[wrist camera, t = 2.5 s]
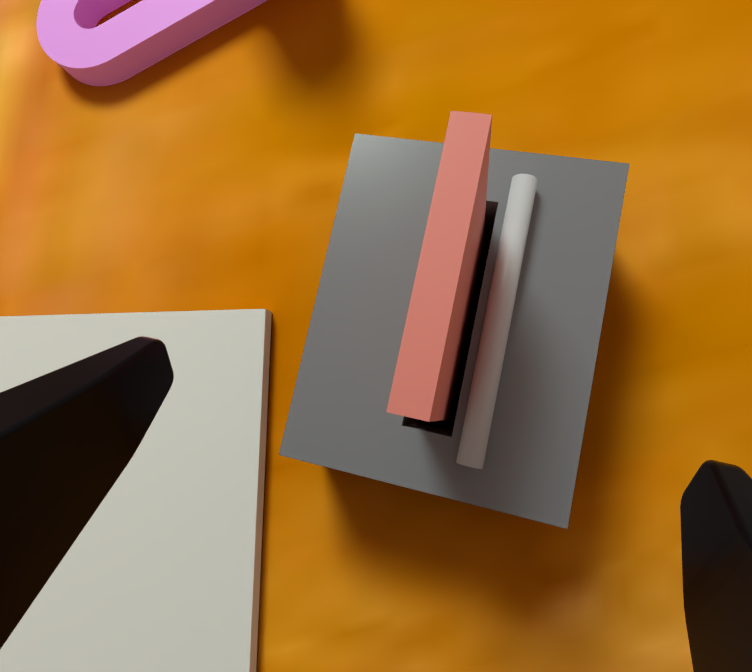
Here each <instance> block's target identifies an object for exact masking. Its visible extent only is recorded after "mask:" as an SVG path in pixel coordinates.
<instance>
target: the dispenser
mask: <svg viewBox="0 0 752 672" xmlns="http://www.w3.org/2000/svg"><path fill="white" fill-rule="evenodd" d="M443 146H444V143H437V142H428V141H419V140H410V139H401V138H392V137H383V136H374V135H364V134H355V136H354V140H353V144H352V149H351V153H350V157H349V161H348V165H347V170H346V174H345V178H344V182H343V187H342V191H341V195H340V199H339V203H338V208H337V212H336V216H335V220H334V224H333V229H332V233H331V237H330V241H329V246H328V250H327V254H326V258H325V262H324V267H323V271H322V275H321V279H320V283H319V288H318V292H317V296H316V300H315V305H314V309H313V313H312V317H311V321H310V326H309V330H308V334H307V338H306V343H305V347H304V351H303V355H302V359H301V364H300V368H299V372H298V376H297V380H296V385H295V389H294V393H293V397H292V402H291V406H290V410H289V414H288V418H287V423H286V427H285V431H284V435H283V439H282V444H281V448H280V452H279V455H282V456H285V457H289V458H293V459H297V460H301V461H305V462H309V463H313V464H317V465H320V466H324V467H328V468H332V469H336V470H340V471H344V472H348V473H352V474H355V475H359V476H363V477H367V478H371V479H375V480H379V481H383V482H387V483H390V484H394V485H398V486H402V487H406V488H410V489H414V490H418V491H422V492H425V493H429V494H433V495H437V496H441V497H445V498H449V499H453V500H457V501H460V502H464V503H468V504H472V505H476V506H480V507H484V508H488V509H492V510H495V511H499V512H503V513H507V514H511V515H515V516H519V517H523V518H527V519H531V520H534V521H538V522H542V523H546V524H550V525H554V526H558V527H562V528H566V529H568V523H569V517H570V511H571V505H572V499H573V493H574V487H575V482H576V476H577V470H578V464H579V458H580V452H581V446H582V440H583V434H584V428H585V423H586V417H587V411H588V405H589V399H590V393H591V387H592V381H593V375H594V370H595V364H596V358H597V352H598V346H599V340H600V334H601V328H602V322H603V317H604V311H605V305H606V299H607V293H608V287H609V281H610V275H611V269H612V263H613V258H614V252H615V246H616V240H617V234H618V228H619V222H620V216H621V210H622V205H623V199H624V193H625V187H626V181H627V175H628V169H629V164H627V163H618V162H609V161H600V160H591V159H582V158H573V157H564V156H555V155H546V154H537V153H527V152H518V151H509V150H500V149H491V148H490V152H489V167H488V181H487V196H486V210H485V225H484V240H483V246H488V247H489V252H488V257H487V262H486V267H485V272H484V277H483V282H482V287H481V292H480V297H479V302H478V307H477V312H476V317H475V322H474V327H473V333H472V338H471V343H470V348H469V353H468V358H467V363H466V368H465V373H464V378H463V383H462V388H461V393H460V398H459V403H458V408H457V413H456V418H455V423H454V428H453V432H451V431H446V430H442V429H438V428H433V427H429V426H425V425H420V424H417V420H418V419H414V418H410V417H406V416H401V415H397V414H392V413H388V412H386V411H387V406H388V402H389V397H390V392H391V388H392V383H393V378H394V374H395V369H396V364H397V360H398V355H399V350H400V346H401V341H402V336H403V332H404V327H405V323H406V318H407V313H408V309H409V304H410V299H411V295H412V290H413V285H414V281H415V276H416V271H417V267H418V262H419V257H420V253H421V248H422V244H423V239H424V234H425V230H426V225H427V220H428V216H429V211H430V206H431V202H432V197H433V192H434V188H435V183H436V178H437V174H438V169H439V164H440V160H441V155H442V151H443Z"/></svg>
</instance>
